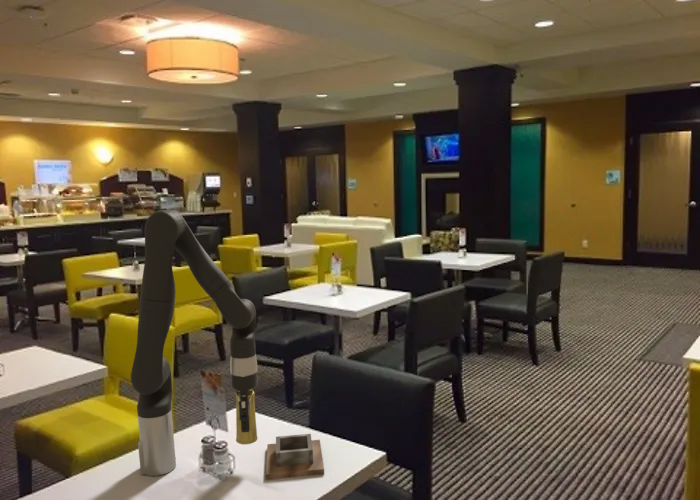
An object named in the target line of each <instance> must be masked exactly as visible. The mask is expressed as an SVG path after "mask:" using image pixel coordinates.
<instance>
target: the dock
mask: <svg viewBox="0 0 700 500" xmlns="http://www.w3.org/2000/svg"><path fill="white" fill-rule="evenodd" d="M321 446H322V445H321V440H320V439H312V435H311V433H305V434H304V433H303V434H291V435H279V436H275V443H268V444H267V446H266V447H267V449H266V450H267V451H266V466H265V467H266V468H265V470H266V471H265V472H266V473H265V475H266V476H265V477H266V480H267V481H268V480H277V479H285V478H287V479H288V478H297V477H308V476H317V475H319V476H320V475H325V466H324V458H323V453H322V452H323V451H322V447H321Z"/></svg>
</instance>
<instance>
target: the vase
mask: <svg viewBox="0 0 700 500" xmlns="http://www.w3.org/2000/svg"><path fill="white" fill-rule="evenodd" d="M238 391H239V390H236V392H235V402H236V403H235V405H236V407H235V408H236V409H235V411H236V412H235V415H236V417H235V418H236V419H235V420H236V422H235V423H236V424H235V426H236V428H235V429H236V432H235V433H236V438H235V441H236V443H238V444H240V445H252V444H254V443H255V442H256V441H258V430H257V421H256V417H257V416H256V406H255V405H256V401H255V399H256V398H255V391H254V390H253V389H250V390H249V391H252V394H250V395H248V401H249V399H250V398H251V396H252V399H251V410H250V411H249V416H250V418H249V432H242V431H241V420H240V419H239V417H240V414H239V410H238V400H237V396H238V397H239V399H240V396H239V395H238ZM248 407H249V404H248ZM242 415H247V414H246V413H242Z"/></svg>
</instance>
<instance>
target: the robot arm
mask: <svg viewBox="0 0 700 500" xmlns="http://www.w3.org/2000/svg"><path fill="white" fill-rule="evenodd" d="M174 251H176V252H177V253H179V255H180V256H181V257H182V258H183V260H184V262H185V264H187V266H188V268H189V270H190V272H191V273H192V275H193V277H194V279H195V280H196V282H197V283H198V285H199V286H200V287H201V288H202V290H204V291H205V293H206V294H207V295H208V296H209V297H210V299H211V300H212V301H213V302H214V304H215V305H216V307H217V309H218V311H219V312H220V313H221V316H222V317H223V318H224V320H225V321H226V322H227V323H228V325H230V326H231V327H232V332H231V337H230V341H229V349H230V350H229V353H230V354H229V355H230V361H229V367H230V368H229V370H230V387H231V389H233V390H235V391H238V395H239V396H240V399H239V397H238V396H237V400H238V410H239V414H240V417H239V419H240V420H241V431H242V432H249V418H250V416H249V411H250V410H251V399H252V396H251V398H250V399H249V401H248V395H250V394H252V391H249V390H253V389H255V388H256V387H257V386H258V383H259V382H258V380H259V379H258V377H259V376H258V361H257V360H258V359H257V354H256V353H257V352H256V349H257V348H256V338H255V336H256V326H257V310H256V309H257V308H256V307H255V304H254V303H253V302H252V301H251V300H250V299H247V298H240V297H239V296H238V294H237V293H236V288H235V286H234V284H233V282H232V281H231V280H230V278H228V276H226V274H225V273H224V272H223V271H222V270H221V268H220V267H219V266H218V265H217V264H216V263H215V261H213V259H212V258H211V257H210V255H209V254H208V253H207V252H206V250H205V249H204V247H203V246H202V245H201V243H200V242H199V241H198V239H197V238H196V236H195V234H194V233H193V231H192V229H191V228H190V226H189V225H188V223H187V221H186V220H185V217H183V215H182V214H181V213H180V212H178V211H176V210H174V209H163V210H158V211H154V212H153V213H151V215H149V216H148V218H147V219H146V222H145V225H144V264H143V265H144V266H143V272H142V280H141V288H140V289H141V290H140V297H139V305H138V306H139V307H138V321H137V322H138V323H137V336H136V337H137V339H136V340H137V341H136V348H135V354H134V358H133V362H132V367H131V372H130V382H131V385H132V387H133V389H134V390H135V392H137V393H138V394H139V397H138V401H137V405H136V413H137V423H138V424H137V425H138V432H139V433H138V434H139V440H138V443H137V447H138V457H139V467H140V475H145V476H146V475H147V476H151V477H157V476H163V475H166V474H169V473H170V472H172V471H173V470H174V469H175V468H176V466H177V461H176V460H177V458H176V450H175V449H176V448H175V439H174V438H175V437H174V425H173V424H174V423H173V413H172V401H173V383H172V379H173V378H172V371H171V370H172V369H171V365H170V363H169V361H168V359H167V358H165V357H164V349H165V344H166V340H167V338H168V335H169V334H168V333H169V331H170V328H171V324H172V322H173V318H174V317H173V316H174V312H175V304H176V303H175V302H176V283H175V276H174V273H173V272H174V270H173V257H174V253H175V252H174ZM248 404H249V407H248ZM242 413H246V414H247V415H242Z"/></svg>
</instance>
